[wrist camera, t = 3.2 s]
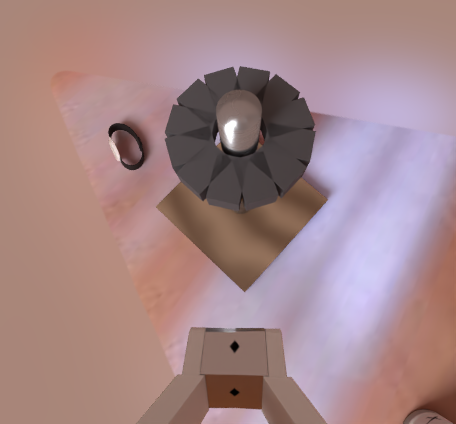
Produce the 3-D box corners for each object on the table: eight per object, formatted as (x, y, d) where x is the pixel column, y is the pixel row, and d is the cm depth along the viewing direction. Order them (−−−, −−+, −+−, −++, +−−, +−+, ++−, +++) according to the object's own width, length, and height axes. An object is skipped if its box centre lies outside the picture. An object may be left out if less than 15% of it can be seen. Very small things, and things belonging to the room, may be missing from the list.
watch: (105, 137, 50) (95, 126, 46) (132, 123, 50) (124, 111, 47) (125, 177, 48) (116, 169, 45) (153, 163, 48) (146, 154, 45)
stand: (237, 131, 49) (237, 124, 47) (324, 203, 45) (328, 199, 44) (159, 210, 46) (155, 206, 44) (244, 291, 43) (244, 292, 41)
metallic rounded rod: (240, 186, 45) (237, 77, 21) (258, 202, 44) (275, 108, 21) (223, 204, 44) (202, 111, 21) (241, 220, 43) (240, 144, 20)
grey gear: (236, 60, 27) (235, 43, 25) (336, 138, 25) (344, 126, 23) (144, 148, 26) (136, 136, 24) (243, 239, 24) (243, 234, 22)
